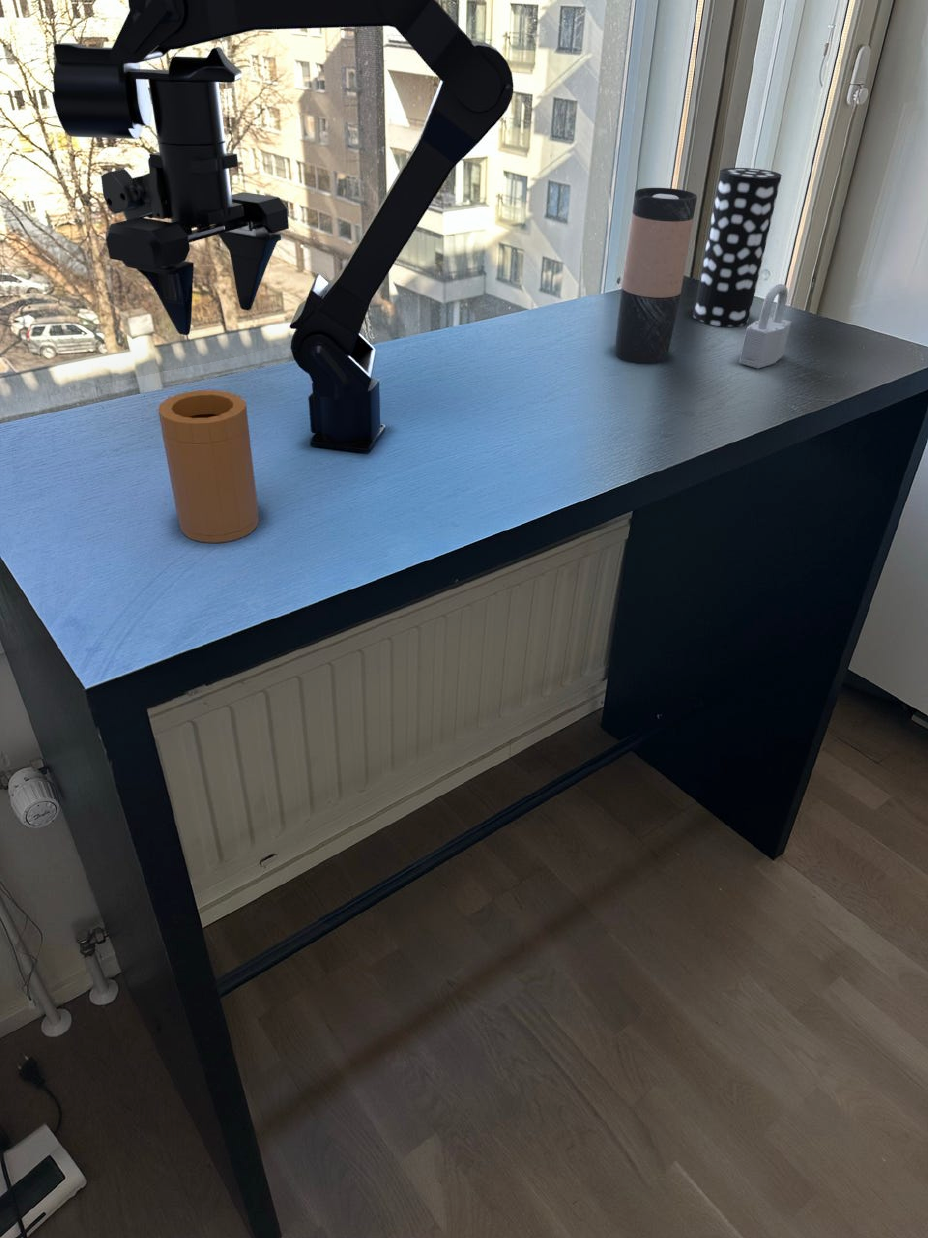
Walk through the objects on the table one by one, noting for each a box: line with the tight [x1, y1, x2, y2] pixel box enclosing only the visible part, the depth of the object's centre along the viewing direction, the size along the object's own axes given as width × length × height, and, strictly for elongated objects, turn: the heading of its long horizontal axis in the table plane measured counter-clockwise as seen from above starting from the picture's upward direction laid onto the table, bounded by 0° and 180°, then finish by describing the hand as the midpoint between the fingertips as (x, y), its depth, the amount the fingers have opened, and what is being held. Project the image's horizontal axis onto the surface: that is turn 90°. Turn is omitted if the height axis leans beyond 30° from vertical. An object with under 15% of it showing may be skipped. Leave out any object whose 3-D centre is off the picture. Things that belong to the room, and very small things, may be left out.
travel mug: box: [614, 187, 698, 365], centre depth 111 cm, size 8×8×20 cm
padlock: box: [738, 283, 792, 370], centre depth 114 cm, size 7×4×10 cm, turn 137°
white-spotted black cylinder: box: [692, 167, 783, 328], centre depth 126 cm, size 8×8×20 cm
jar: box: [157, 389, 260, 544], centre depth 73 cm, size 7×7×11 cm
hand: (216, 321), depth 85 cm, fingers open, 9 cm apart
